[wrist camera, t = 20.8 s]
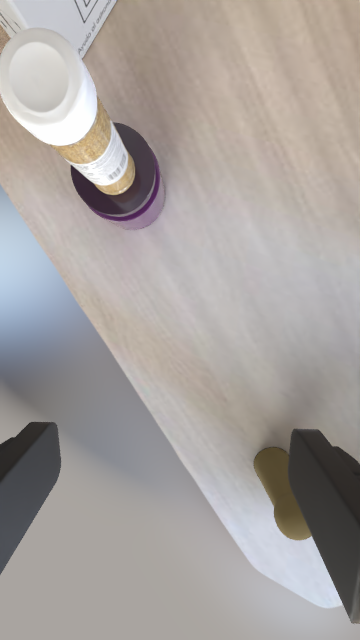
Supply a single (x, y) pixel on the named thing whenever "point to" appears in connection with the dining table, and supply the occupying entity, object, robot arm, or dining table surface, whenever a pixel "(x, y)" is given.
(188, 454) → the dining table surface
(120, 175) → the sprinkles bottle
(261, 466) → the olive game pawn
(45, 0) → the cereal box
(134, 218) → the plum jar
